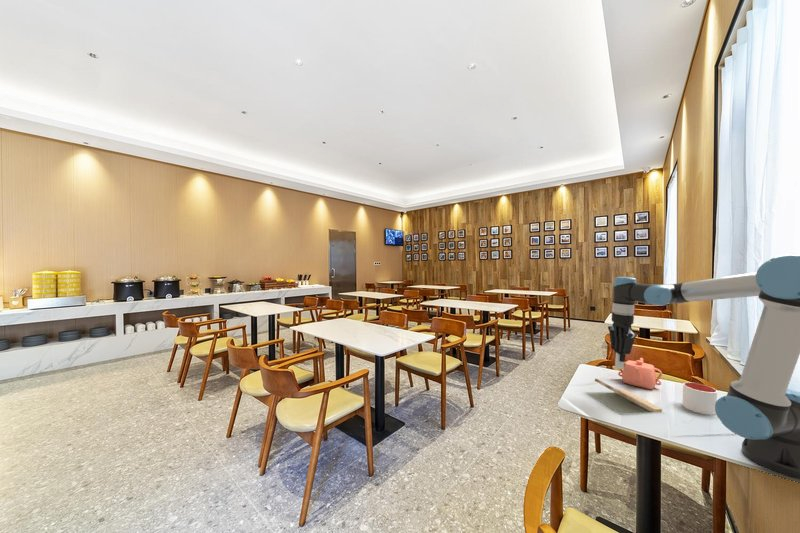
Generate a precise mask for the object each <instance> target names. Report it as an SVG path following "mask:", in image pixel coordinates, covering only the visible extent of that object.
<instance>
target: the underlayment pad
mask: <svg viewBox="0 0 800 533" xmlns="http://www.w3.org/2000/svg"><path fill="white" fill-rule="evenodd" d="M618 390H619V391H621V392H623V393H625V394H627V395H628V396H630V397H632V398H634V399H636V400H637V401H639V402H641V403H643V404H645V405H647V406H648V407H650V408H652V409H653V410H652V412H651V411H649V410H647V409H645V408H643V407H641V406H639V405H637V404H636V403H634V402H632V401H630V400H628V399H626V398H624V397H623V396H621V395H619V394H617V393H615V392H614V391H585V392H586V393H585V394H588V395H589V396H591V397H593V398H594V399H595V400H597V401H599V402H600V403H601V404H603V405H605V406H606V407H608V408H609V409H612V411H614V412H616V413H617V414H618V415H623V416H624V415H626V416H627V415H658V414H659V415H660V414H666V412H663V409H662V408H660V407H658V406H657V405H655V404H653V403H651V402H650V401H648V400H647V399H644V398H642V397H640V396H638V395H636V394H635V393H632V392H630V391H628V390H627V389H618Z"/></svg>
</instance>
